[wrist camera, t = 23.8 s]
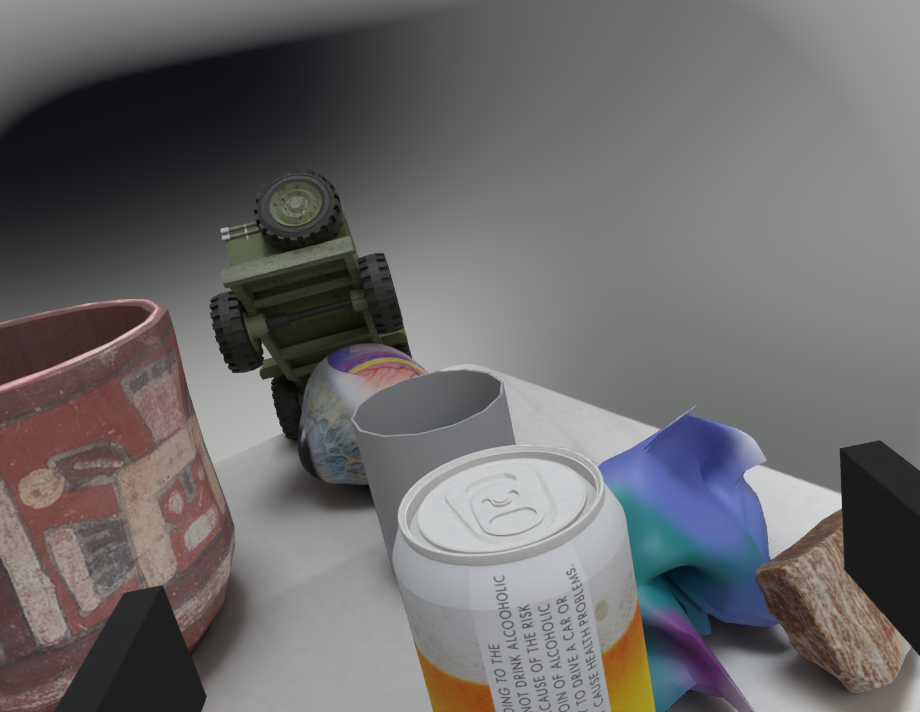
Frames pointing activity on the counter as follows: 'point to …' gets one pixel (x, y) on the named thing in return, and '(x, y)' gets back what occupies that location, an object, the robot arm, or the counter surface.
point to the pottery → (98, 490)
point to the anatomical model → (345, 407)
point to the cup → (426, 432)
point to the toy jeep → (300, 291)
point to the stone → (831, 611)
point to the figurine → (692, 548)
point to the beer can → (522, 585)
